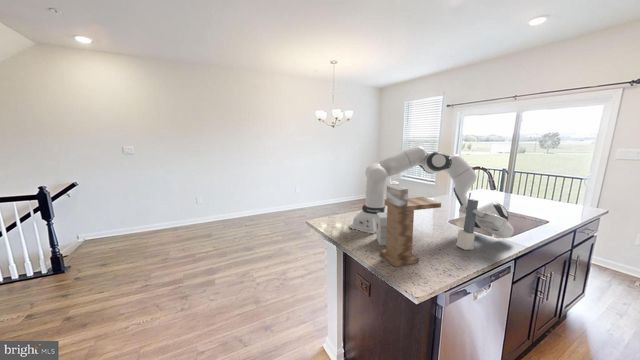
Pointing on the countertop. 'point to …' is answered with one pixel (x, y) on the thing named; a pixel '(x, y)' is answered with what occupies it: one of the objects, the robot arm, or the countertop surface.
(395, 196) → the stand
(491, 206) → the robot arm
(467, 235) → the grey and white bar
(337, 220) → the countertop surface
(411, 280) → the countertop surface
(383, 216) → the supplement box
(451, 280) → the countertop surface
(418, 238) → the countertop surface
